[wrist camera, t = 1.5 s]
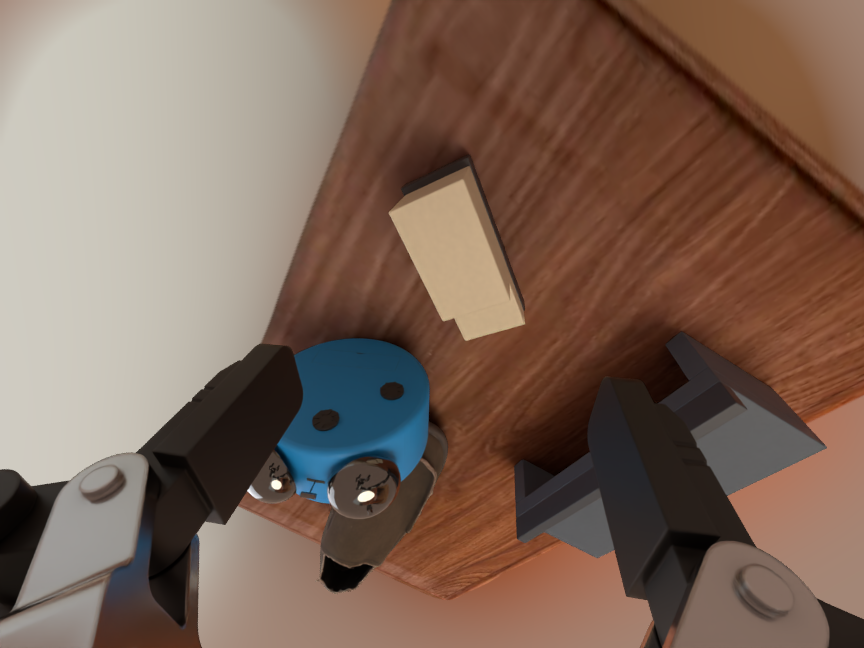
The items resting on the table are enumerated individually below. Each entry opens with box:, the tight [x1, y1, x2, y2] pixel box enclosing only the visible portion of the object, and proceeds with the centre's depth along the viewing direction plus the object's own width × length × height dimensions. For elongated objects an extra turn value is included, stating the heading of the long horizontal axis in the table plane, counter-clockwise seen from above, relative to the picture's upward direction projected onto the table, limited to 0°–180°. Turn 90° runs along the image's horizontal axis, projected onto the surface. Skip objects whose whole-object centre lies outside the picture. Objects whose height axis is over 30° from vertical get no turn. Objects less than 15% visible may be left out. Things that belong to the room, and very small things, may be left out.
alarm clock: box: [247, 338, 430, 519], centre depth 29 cm, size 13×6×15 cm, turn 88°
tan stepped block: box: [389, 154, 525, 341], centre depth 25 cm, size 12×5×6 cm, turn 25°
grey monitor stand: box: [514, 332, 827, 558], centre depth 32 cm, size 22×10×8 cm, turn 151°
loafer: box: [316, 422, 448, 594], centre depth 40 cm, size 11×30×11 cm, turn 164°
